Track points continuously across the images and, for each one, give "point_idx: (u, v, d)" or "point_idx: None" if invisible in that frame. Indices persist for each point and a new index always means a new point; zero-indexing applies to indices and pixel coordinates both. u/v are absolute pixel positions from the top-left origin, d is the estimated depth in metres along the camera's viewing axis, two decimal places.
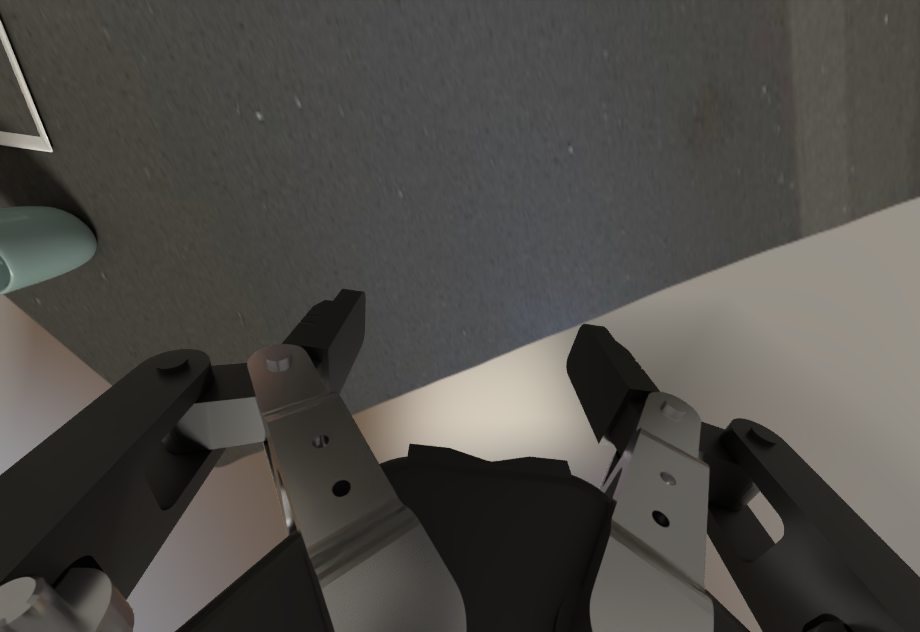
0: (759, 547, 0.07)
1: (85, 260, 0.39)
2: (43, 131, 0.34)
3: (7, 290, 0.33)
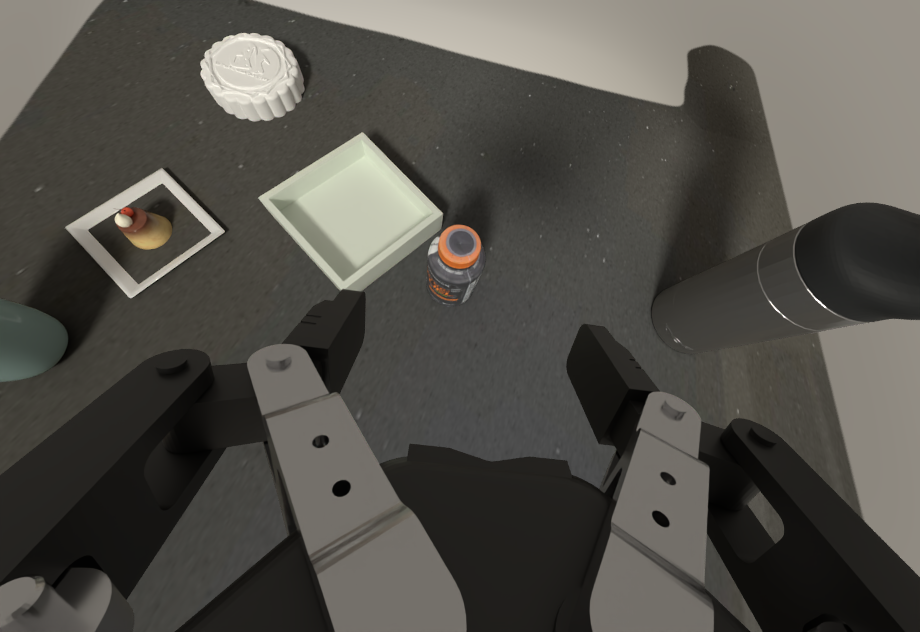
0: (759, 547, 0.07)
1: (6, 381, 0.31)
2: (146, 285, 0.36)
3: None
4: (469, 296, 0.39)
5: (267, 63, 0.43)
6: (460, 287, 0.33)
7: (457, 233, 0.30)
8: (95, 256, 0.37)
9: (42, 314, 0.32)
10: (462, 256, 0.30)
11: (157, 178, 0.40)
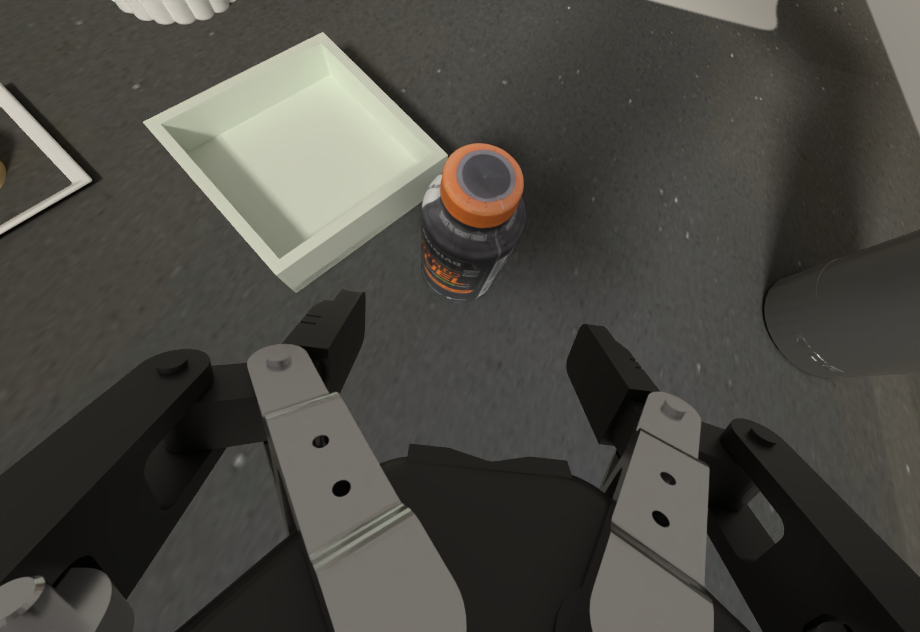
0: (759, 547, 0.07)
1: None
2: None
3: None
4: (489, 286, 0.24)
5: None
6: (480, 268, 0.19)
7: (479, 158, 0.16)
8: None
9: None
10: (489, 202, 0.15)
11: None
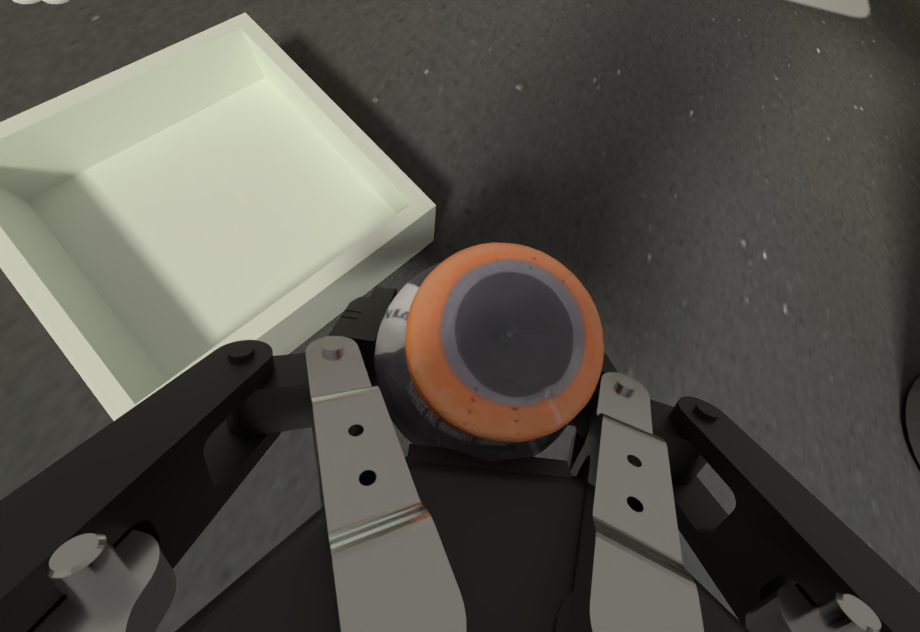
0: (711, 515, 0.08)
1: None
2: None
3: None
4: None
5: None
6: None
7: (496, 285, 0.06)
8: None
9: None
10: (524, 406, 0.06)
11: None
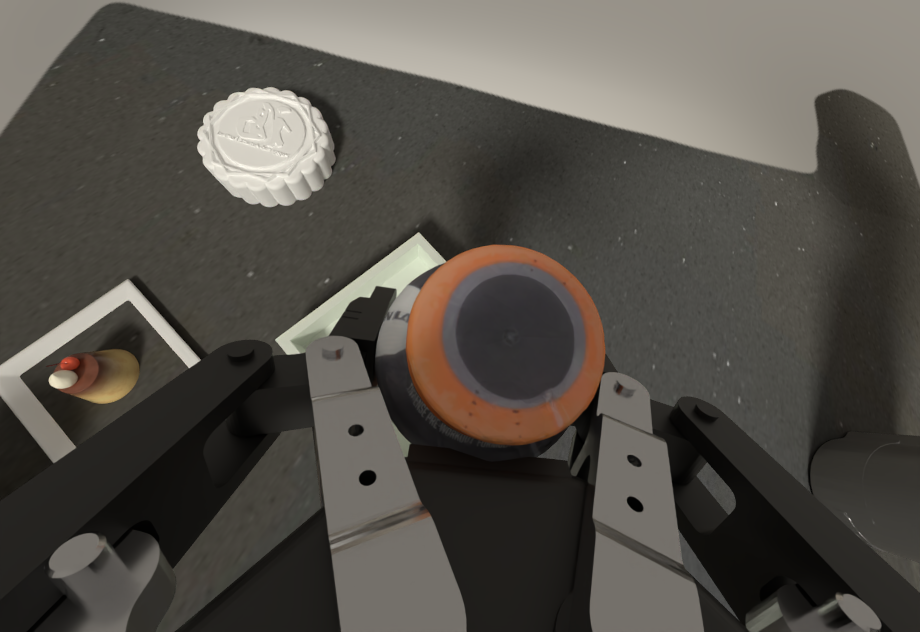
0: (711, 515, 0.08)
1: None
2: None
3: None
4: None
5: (288, 131, 0.31)
6: None
7: (497, 288, 0.06)
8: (26, 421, 0.25)
9: None
10: (526, 409, 0.06)
11: (121, 294, 0.29)
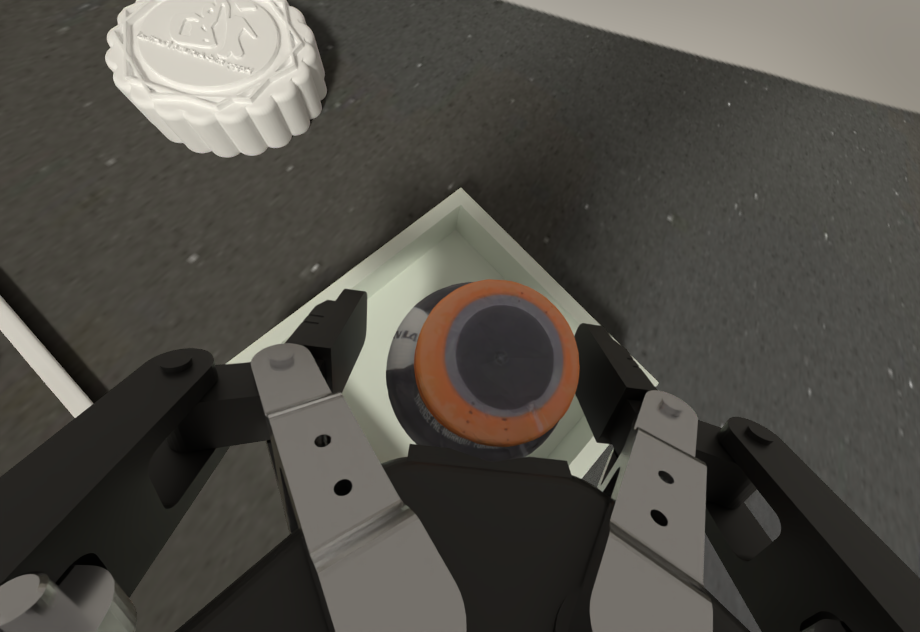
0: (756, 545, 0.07)
1: None
2: None
3: None
4: None
5: (251, 36, 0.20)
6: None
7: (490, 317, 0.08)
8: None
9: None
10: (512, 417, 0.07)
11: None
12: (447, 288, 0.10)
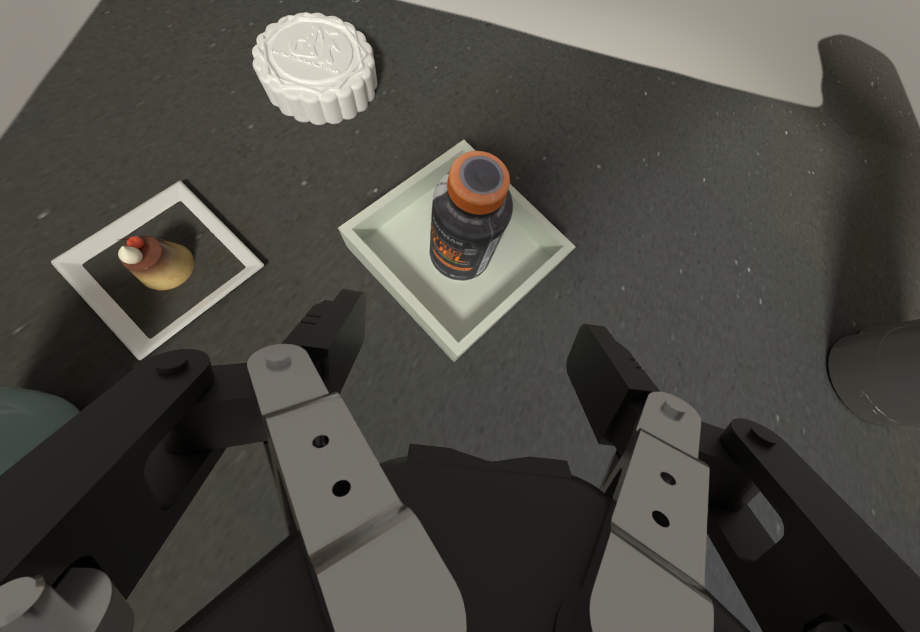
0: (759, 547, 0.07)
1: None
2: (160, 342, 0.27)
3: None
4: (486, 266, 0.30)
5: (337, 50, 0.33)
6: (478, 246, 0.24)
7: (476, 162, 0.21)
8: (91, 301, 0.27)
9: (49, 401, 0.22)
10: (483, 194, 0.20)
11: (174, 194, 0.30)
12: None
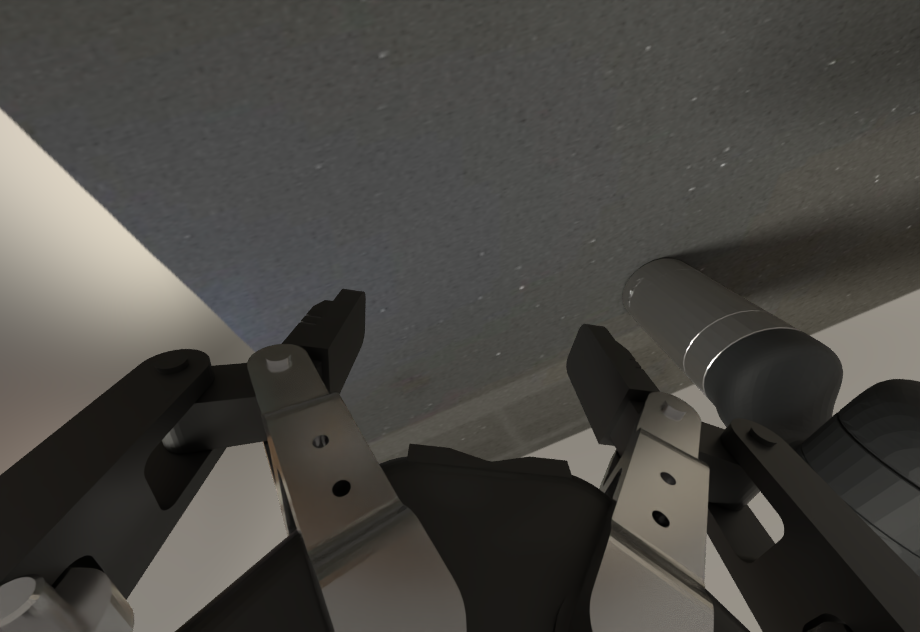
0: (759, 547, 0.07)
1: None
2: None
3: None
4: None
5: None
6: None
7: None
8: None
9: None
10: None
11: None
12: None
